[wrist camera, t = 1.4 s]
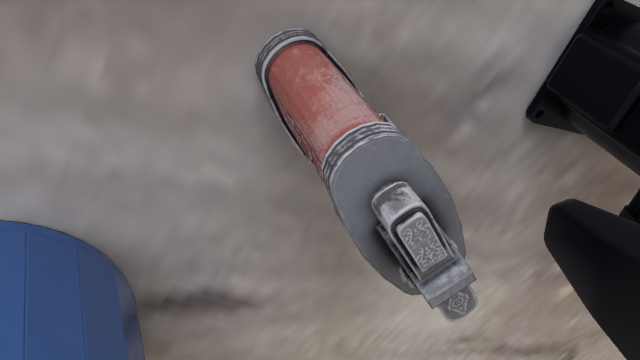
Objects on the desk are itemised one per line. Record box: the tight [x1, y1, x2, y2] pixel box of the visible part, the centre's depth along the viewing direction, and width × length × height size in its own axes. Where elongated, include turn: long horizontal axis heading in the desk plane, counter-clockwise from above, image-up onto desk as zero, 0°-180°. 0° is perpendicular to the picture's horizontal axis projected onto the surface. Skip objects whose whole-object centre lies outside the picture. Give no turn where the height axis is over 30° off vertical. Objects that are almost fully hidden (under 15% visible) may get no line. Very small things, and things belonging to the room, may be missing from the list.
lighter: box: [255, 28, 478, 322], centre depth 20 cm, size 8×3×10 cm, turn 27°
